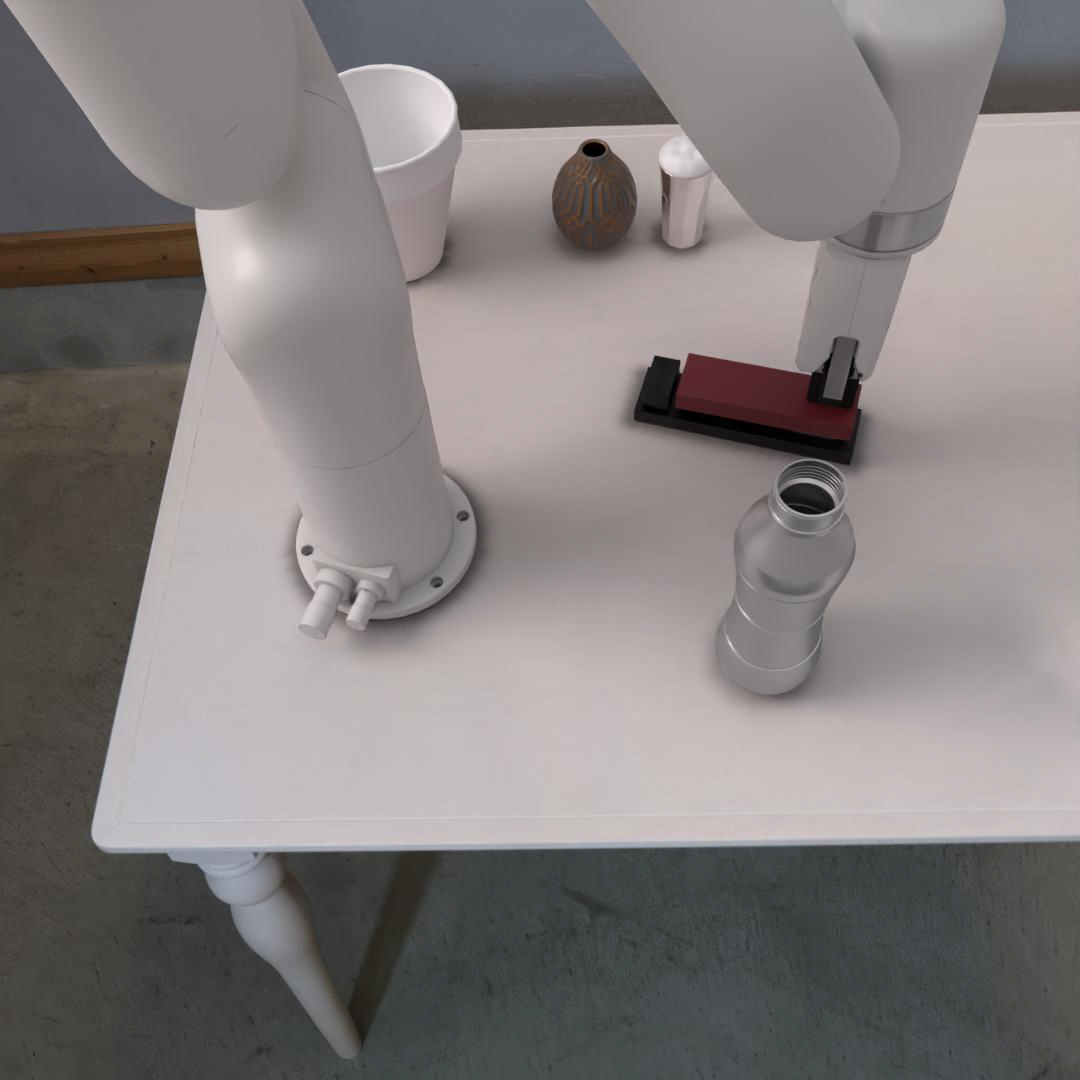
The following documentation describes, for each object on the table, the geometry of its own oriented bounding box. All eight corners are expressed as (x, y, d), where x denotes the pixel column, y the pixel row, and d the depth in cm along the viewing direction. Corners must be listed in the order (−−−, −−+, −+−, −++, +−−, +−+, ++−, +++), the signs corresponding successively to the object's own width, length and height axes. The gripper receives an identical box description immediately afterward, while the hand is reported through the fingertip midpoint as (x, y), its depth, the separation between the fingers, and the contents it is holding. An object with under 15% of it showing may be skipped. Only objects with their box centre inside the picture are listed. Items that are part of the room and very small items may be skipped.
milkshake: (709, 210, 95) (720, 110, 87) (708, 255, 93) (719, 157, 84) (656, 208, 96) (661, 108, 87) (653, 253, 93) (658, 155, 84)
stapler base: (858, 418, 83) (867, 392, 81) (849, 465, 81) (857, 440, 78) (647, 376, 86) (649, 349, 84) (633, 420, 84) (634, 394, 81)
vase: (540, 220, 96) (535, 134, 88) (614, 196, 97) (616, 109, 89) (573, 273, 92) (571, 189, 85) (649, 248, 93) (654, 162, 86)
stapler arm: (858, 398, 81) (862, 383, 80) (849, 441, 79) (853, 427, 78) (687, 366, 84) (688, 352, 82) (675, 408, 82) (676, 394, 80)
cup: (311, 228, 96) (271, 91, 85) (445, 185, 98) (424, 44, 87) (356, 326, 90) (320, 192, 79) (498, 277, 92) (483, 140, 81)
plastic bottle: (836, 674, 73) (907, 503, 56) (748, 724, 71) (794, 565, 54) (776, 598, 76) (827, 415, 59) (692, 645, 74) (718, 470, 57)
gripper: (836, 99, 68) (795, 310, 84) (790, 276, 61) (756, 470, 76) (964, 117, 66) (899, 328, 82) (933, 300, 59) (868, 494, 75)
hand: (830, 396), depth 79 cm, fingers closed
